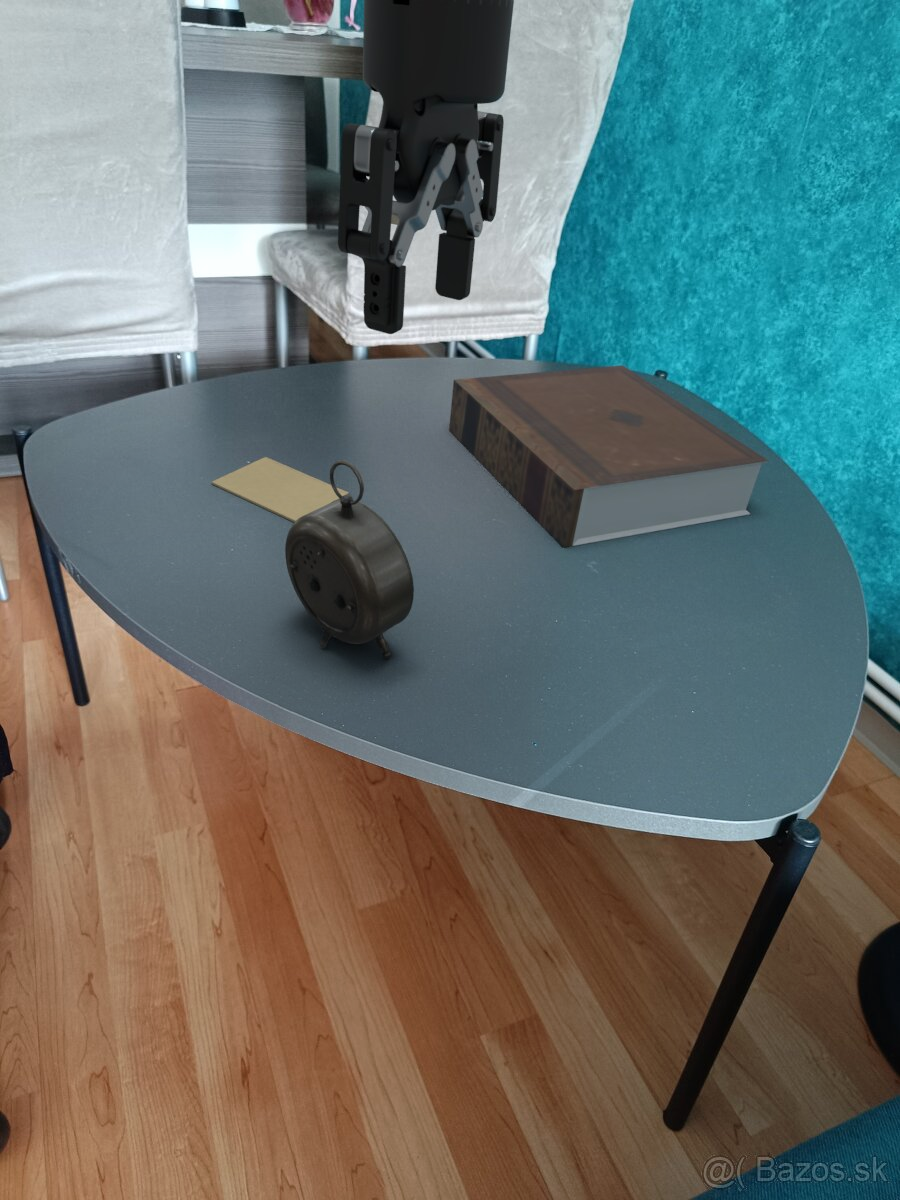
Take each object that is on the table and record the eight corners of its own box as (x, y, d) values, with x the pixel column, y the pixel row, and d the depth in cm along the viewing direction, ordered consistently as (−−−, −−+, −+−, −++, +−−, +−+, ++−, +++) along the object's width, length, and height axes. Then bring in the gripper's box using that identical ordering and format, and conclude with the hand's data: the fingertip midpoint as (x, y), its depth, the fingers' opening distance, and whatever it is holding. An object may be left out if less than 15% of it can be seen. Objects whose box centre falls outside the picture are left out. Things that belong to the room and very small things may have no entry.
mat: (297, 524, 82) (297, 521, 82) (211, 484, 87) (211, 481, 87) (349, 495, 88) (349, 492, 88) (265, 459, 93) (265, 456, 93)
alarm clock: (412, 657, 67) (427, 479, 58) (363, 687, 64) (369, 503, 55) (325, 596, 73) (324, 425, 64) (275, 621, 70) (267, 444, 60)
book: (562, 547, 83) (574, 490, 79) (449, 430, 103) (453, 379, 99) (750, 514, 92) (769, 461, 89) (612, 412, 112) (622, 365, 109)
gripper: (441, -14, 48) (423, 276, 57) (292, -32, 37) (299, 327, 47) (562, -2, 45) (521, 300, 55) (437, -17, 35) (414, 359, 44)
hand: (419, 312), depth 51 cm, fingers open, 8 cm apart
